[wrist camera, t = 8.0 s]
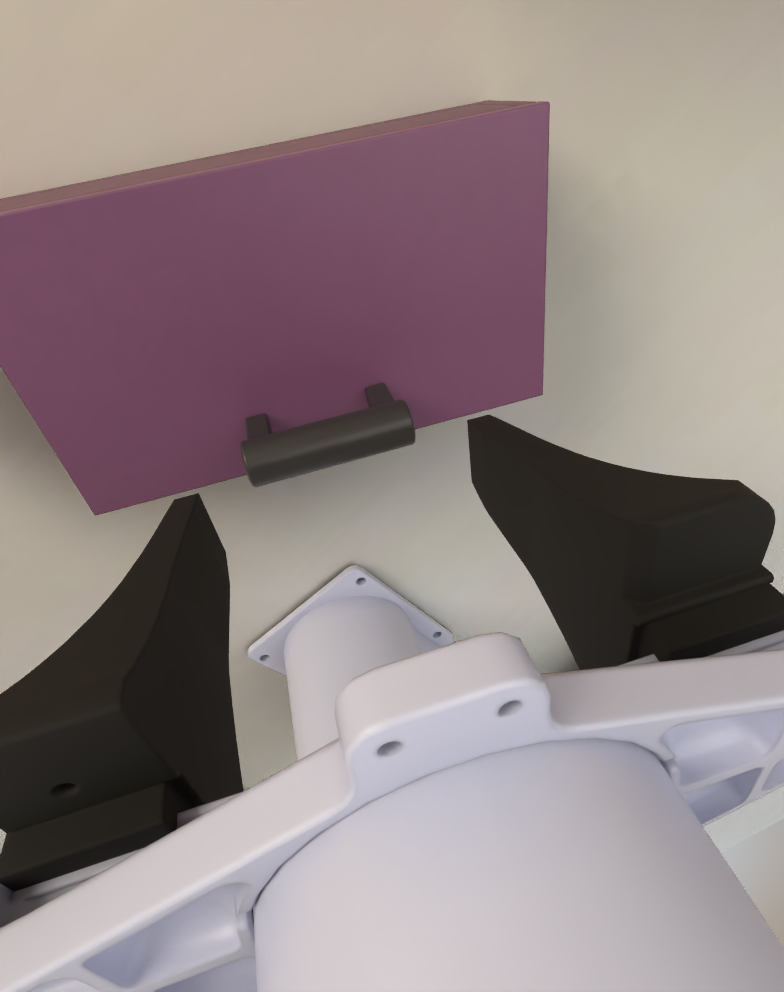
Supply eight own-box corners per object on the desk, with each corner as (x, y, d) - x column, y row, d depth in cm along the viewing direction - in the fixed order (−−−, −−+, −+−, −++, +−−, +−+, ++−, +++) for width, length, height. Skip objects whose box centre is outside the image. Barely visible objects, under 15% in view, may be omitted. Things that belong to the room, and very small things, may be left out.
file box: (496, 337, 23) (535, 371, 20) (104, 437, 21) (87, 489, 19) (488, 99, 18) (539, 101, 15) (-25, 204, 16) (-75, 226, 14)
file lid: (535, 388, 21) (586, 434, 18) (97, 505, 19) (77, 578, 16) (540, 100, 15) (613, 103, 13) (-75, 226, 14) (-150, 263, 11)
